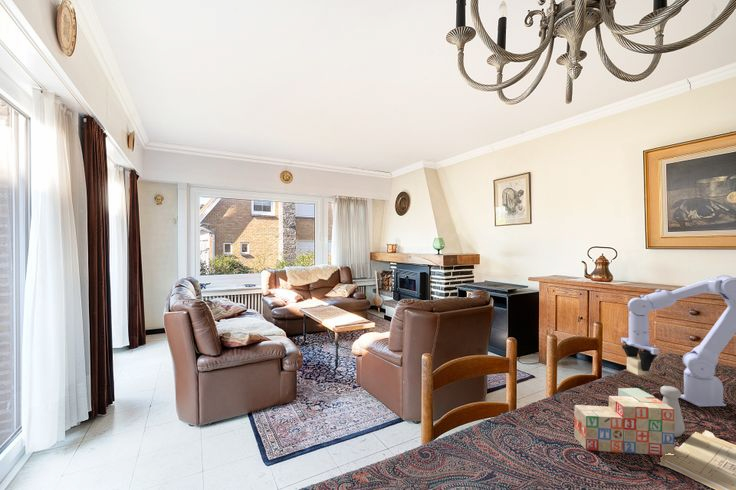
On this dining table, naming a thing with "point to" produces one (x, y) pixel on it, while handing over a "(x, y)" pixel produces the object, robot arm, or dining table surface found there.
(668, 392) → the salt shaker
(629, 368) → the maple cube
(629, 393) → the base block
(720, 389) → the robot arm
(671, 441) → the stack of blocks
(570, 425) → the dining table surface
